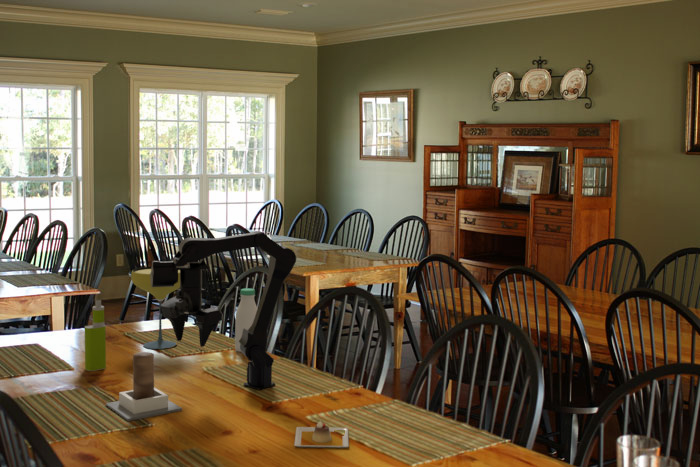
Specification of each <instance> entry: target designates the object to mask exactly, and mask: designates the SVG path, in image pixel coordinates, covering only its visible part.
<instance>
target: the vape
mask: <svg viewBox="0 0 700 467" xmlns="http://www.w3.org/2000/svg"><path fill="white" fill-rule="evenodd" d="M106 338H107V336H106V324H105V306H104V305H102V300H100V299H99V300H95V305H93V306H92V325H91V324H90V325H84V370H85V371H88V372H94V371H95V372H96V371H99V370H105V369H106V368H107V360H106V359H107V354H106V353H107V350H106V349H107V348H106V347H107V344H106V341H107V340H106Z"/></svg>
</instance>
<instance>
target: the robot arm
mask: <svg viewBox="0 0 700 467" xmlns="http://www.w3.org/2000/svg"><path fill="white" fill-rule="evenodd" d="M178 245H179V246H178V251H177V252H176V254H175V255H174V256H173V257H172V259H171V260H168V261H165V260H164V261H160V260H152V261H151V267H152V268H151V272H150V279H151V287H173V286H174V284H176V283H178V270H180V288H179V289H177V290H175V296H173V297H171V298H169V299H168V300H166V301H165V302H162V303H161V306H160V313H161V315H163V317H164V318H166V320H168V321H169V322H170V324H171V326H172V328H173V332H174V334H175V339H176V341H177V342H181V341H182V340H183V335H184V331H185V326H186V325H185V323H186V319H187V315H188V316H191V317H195V319H196V321H197V322H195V325H196V326H197V327H198V332H199V333H198V336H199V346H200V347H201V348H203V347H205V346H206V343H207V341H208V340H209V337H210V335H211V333H212V331H213V330H214V328H215V327H216V324H219V322H221V321H223V312H222V311H221V310H220V309H216V308H212V307H211V308H206V304H204V303H202V302H203V299H202V297H203V294H205V293H206V288H205V289H204V288H203V272H202V271H203V270H210V265H208V264H207V263H206V262H205V260H204V259H206V258H207V259H208V258H209V257H211V256H213V255H217V254H221V253H226V252H233V251H240V250H245V249H251V248H259V249H260V250H261V251H263V253H265V254H266V255H268V256H269V259H268V260H269V261H268V274H267V275H268V276H267V279H266V283H265V286H264V288H263V292H262V294H261V297H260V301H259V304H258V306H257V308H258V309H257V312H256V315H255V318H254V321H253V324H252V326H251V327H250V328H249V329H248V330H247V329H245V328H244V329H243V333H242V337H241V339H240V340H239V343H240V349H241V351H242V352H241V353H242V354H243V355H244V357H245V358H246V359H247V360H248V362H247V367H246V382H243V386H244V387H245V386H246V387H249V388H252V389H255V390H258V391H259V390H263V389H266V388H270V387H273V386H276V382H273V381H272V375H273V374H272V372H273V371H272V370H273V369H272V368H273V364H274V362H275V361H274V358H273V357H272V356H271V355H270V354H269V353H268V352H267V346H268V329H269V326H270V323H271V321H272V317H273V314H274V311H275V308H276V305H277V302H278V299H279V295H280V293H281V290H282V287H283V284H284V282H285V280H286V279H287V278H288V276H289V275H290V274H291V272H292V270H293V268H294V266H295V264H296V263H297V255H296V252H295V251H294V250H293V249H291V248H289V247H286V246H284V245H280V244H279V243H277V242H276V241H274V240H273V239H272V238H270V237H269V236H267V234H266V233H264V232H262V231H260V230H257V231H253V232H248V233H241V234H234V235H229V236H228V235H227V236H221V237H216V238H215V237H214V238H206V237H205V238H204V237H186V238H184V239H182V240H181V242H180V243H179V244H178Z"/></svg>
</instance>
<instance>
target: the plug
mask: <svg viewBox="0 0 700 467" xmlns="http://www.w3.org/2000/svg"><path fill="white" fill-rule="evenodd" d="M132 359H133V360H132V377H133V378H132V379H133V381H132V384H133V386H132V390H133V399H135V400H139V399H145V398H150V397H154V388H155V354H154V353H153V352H149V351H147V352H146V351H143V352H136V353H133V355H132Z"/></svg>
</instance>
